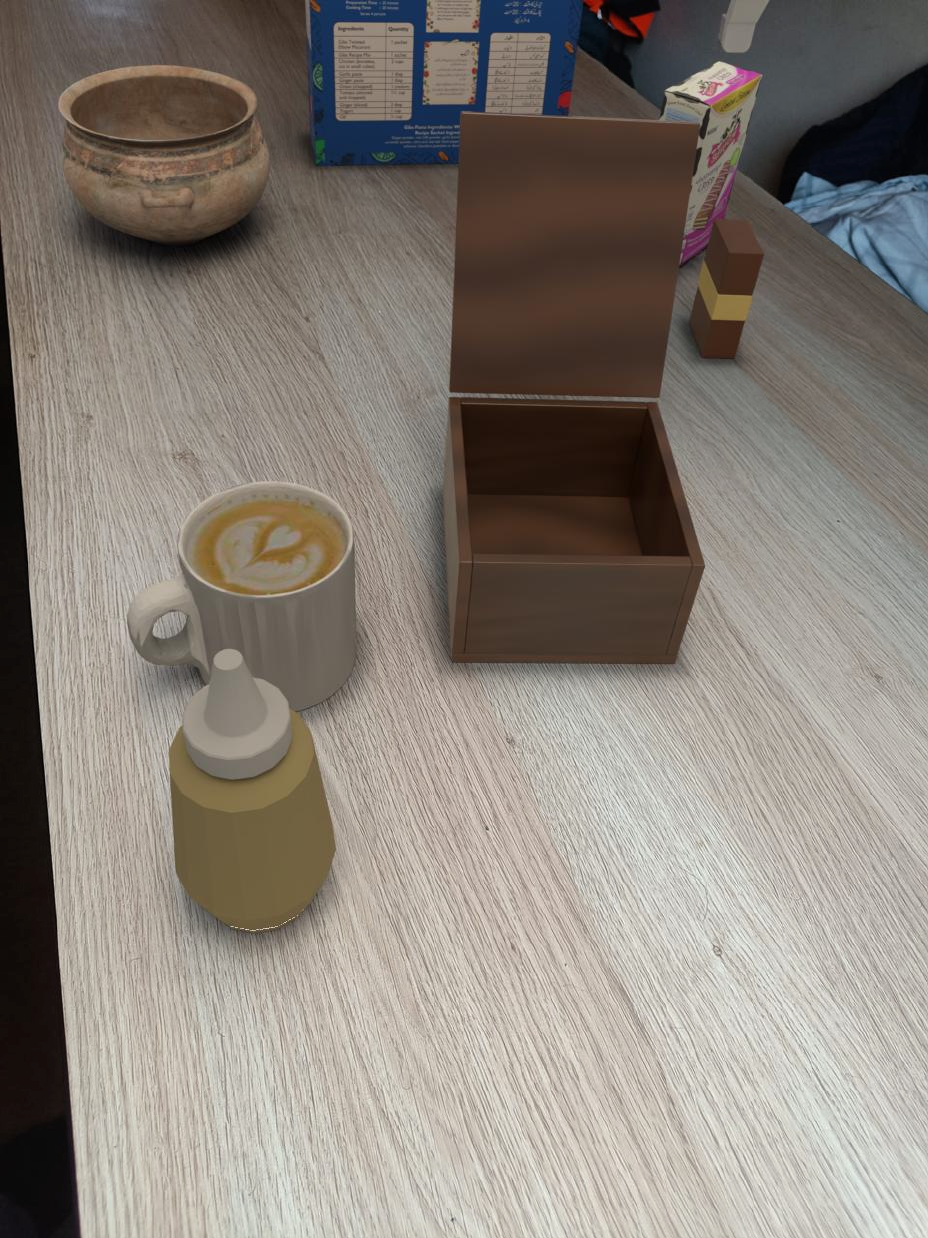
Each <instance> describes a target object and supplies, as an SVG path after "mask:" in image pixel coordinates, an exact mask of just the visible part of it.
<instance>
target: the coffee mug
mask: <svg viewBox="0 0 928 1238" xmlns="http://www.w3.org/2000/svg"><path fill="white" fill-rule="evenodd" d="M176 542H177V544H176V547H177V556H178V561H179V565H180V569H181V574H180V575H177V576H176V577H172V578H168V579H166V580H162V581H158V582H156V583H153V584H151V585H149V586H147V587H145V588H143V589H142V590H141V591H139V592H138V593H137V594H135V596H134V598H132V600H131V602H130V603H129V606H128V608H127V609H128V610H127V614H126V624H127V631H128V634H129V638H130V641H131V643H132V645H133V647H134V649H135V651H136V652H137V653H138V655H139V656H140V657H141V658H142V659H143V660H144V661H146V662H148V663H150V664H152V665H154V666H161V667H162V666H163V667H173V666H175V667H176V666H185V665H187V666H194V667H196V668H197V669H198V671H199V674H200V676H201V678H202V682H204V684H205V686H206V685H208V684H210V683H209V682H210V679H211V673H212V667H213V660H214V657H215V655H216V654H217V653H218V652H220V651H222V650H224V649H234V650H237V651H239V652H240V653H241V655H242V656H243V658H244V660H245V662H246V664H247V667H248V669H249V671H250V673H251V675H252V677H253V678H259V679H263V680H265V681H267V682H269V683H270V684H272V685H274V686H275V687H277V688H279V689H280V691H281V692H282V694H283V695H284V696H285V698H286V699H287V701H288V702H289V708H290V709H291V710H293V711H295V712H296V713H297V712H300V711H304V710H307V709H309V708H312V707H314V706H316V705H319V704H321V703H322V702H325V701H326V700H327V699H329V698H331V697H332V696H333V695H334V694H336V693H337V692H338V691H339V690H340V689H341V688H342V687H343V686H344V685H345V683H346V682H347V680H348V679H349V677H350V676H351V674H352V672H353V670H354V668H355V664H356V661H357V660H356V658H357V613H356V612H357V608H356V606H357V605H356V603H357V602H356V552H355V551H356V550H355V548H356V547H355V544H356V543H355V533H354V529H353V524H352V521H351V520H350V518H349V515H348V514H347V513H346V510H345V509H344V508H343V507H342V506H341V505H340V504H339V503H338V502H337V501H335V500H334V499H332V497H330V496H329V495H326V494H325V493H323V492H322V491H319V490H317V489H314V488H312V487H309V486H306V485H303V484H299V483H294V482H288V481H280V480H279V481H277V480H274V481H273V480H272V481H271V480H264V481H252V482H247V483H242V484H238V485H233V486H231V487H228V488H226V489H223V490H221V491H218V492H215V493H214V494H212V495H211V496H208V497H207V498H205V499H204V500H202V501H201V502H200V503H198V504H197V505H196V506H194V508H193V509H192V510H191V511H190V512H189V513H188V515H187V516H186V517H185V518H184V520H183V522H182V524H181V526H180V527H179V531H178V534H177V541H176ZM176 612H179V613H182V614H184V615H186V617H185V618H186V619H185V620H186V621H185V623H184V625H183V628H182V629H181V630H180V631H179V632H177V633H176V634H175V635H172V636H169V637H166V638H163V637H161V638H160V637H158V636H155V635H154V632H153V631H154V627H155V624H156V623H157V621H158V620H159V619H161V618H162V617H164V616H166V615H167V614H168V613H176ZM208 681H209V682H208Z"/></svg>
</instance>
